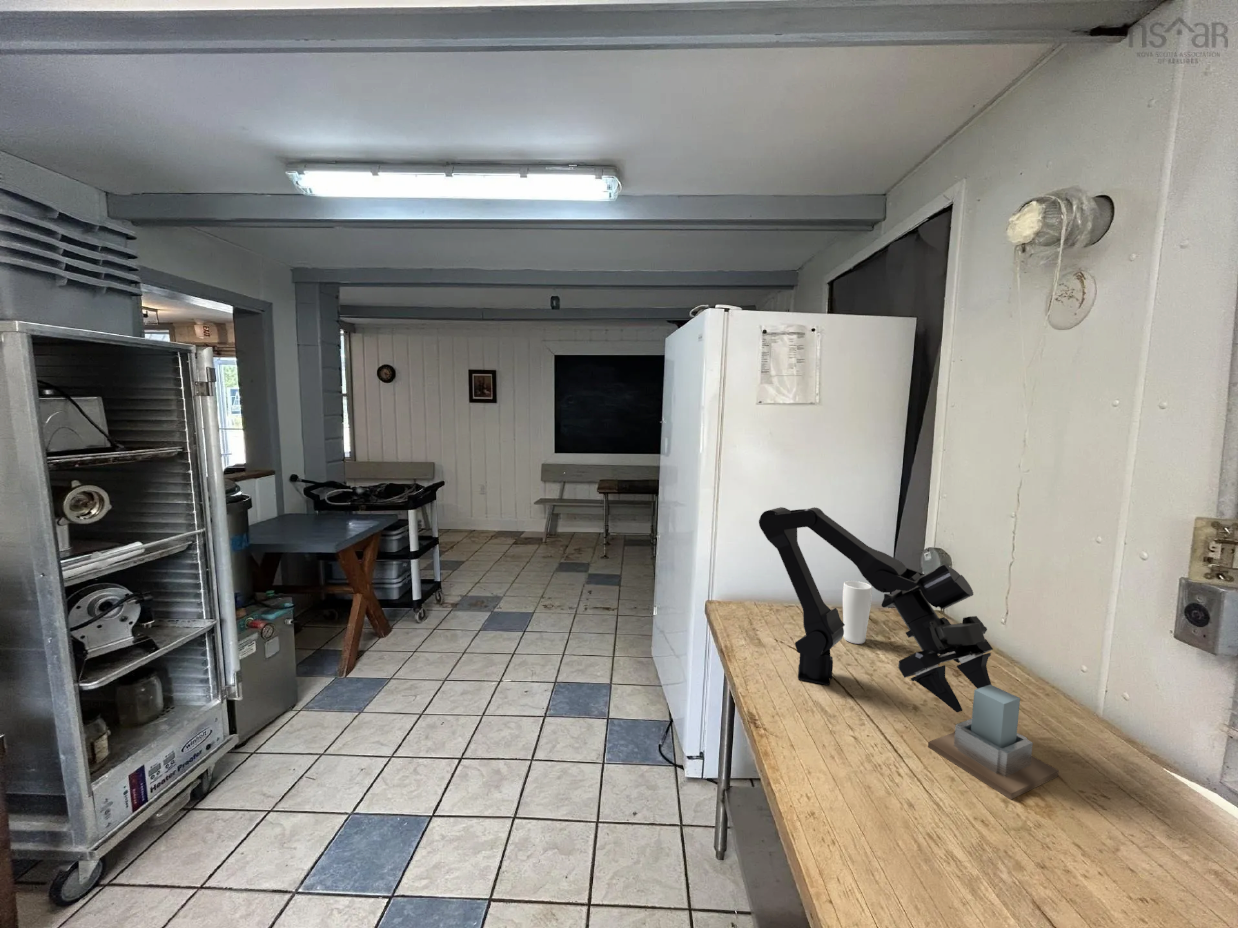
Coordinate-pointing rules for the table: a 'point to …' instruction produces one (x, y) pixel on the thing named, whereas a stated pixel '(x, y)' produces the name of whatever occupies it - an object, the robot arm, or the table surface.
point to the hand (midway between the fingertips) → (976, 705)
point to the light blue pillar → (995, 715)
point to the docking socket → (994, 760)
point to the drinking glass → (856, 610)
